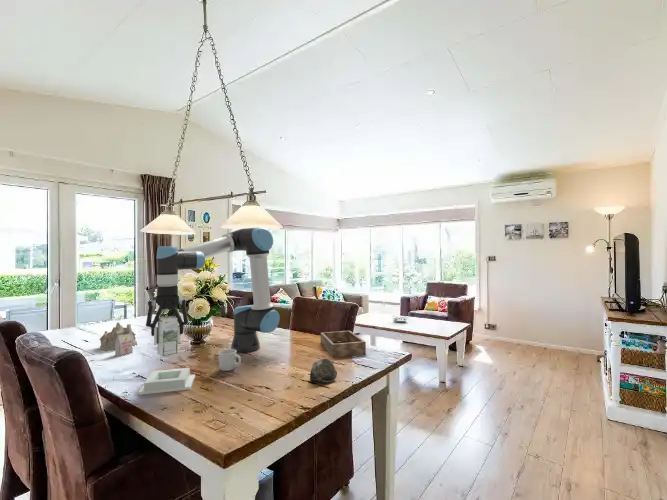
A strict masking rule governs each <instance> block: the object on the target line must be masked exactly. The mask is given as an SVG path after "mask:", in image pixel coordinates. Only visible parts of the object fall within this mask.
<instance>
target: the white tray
mask: <svg viewBox="0 0 667 500" xmlns="http://www.w3.org/2000/svg"><path fill="white" fill-rule="evenodd" d="M195 378H196V374H191V367H184V368H183V367H182V368H173V369H170V368H169V369H161V370H153V371H152V372H151V374H149V376H148V377H147V379H146V380H145V381H144V383H143V385H142V386H141V387H140V389H139V390H138V392H137V396H140V395H142V396H143V395H150V394H160V393H168V392H179V391H188V390H192V386H193V385H194V381H195Z"/></svg>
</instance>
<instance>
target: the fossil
mask: <svg viewBox="0 0 667 500" xmlns="http://www.w3.org/2000/svg"><path fill="white" fill-rule="evenodd" d="M334 365H335V364H334V363H333V362H331V360H330V359H328V358H320V359H318V360H315V361H314V362H313V363H312V367H311V371H310V373H309V381H315V380H316V381H317V382H319V383H321V384H325V385H326V384H330V383H332V382H334V381H335V380H336V378H337V376H338V371H337V370H336V367H335V366H334Z"/></svg>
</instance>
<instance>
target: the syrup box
mask: <svg viewBox="0 0 667 500" xmlns="http://www.w3.org/2000/svg"><path fill="white" fill-rule="evenodd" d="M177 319H178V318H176V317H175V315H167V316H160V317H159V319H158V322H157V327H158V344H157V354H158V355H160V356H161V357H166V356H167V357H168V356H171V355H172V356H173V355H176V354H178V344H179V343H177V327H178V326H179V323H178V321H177Z"/></svg>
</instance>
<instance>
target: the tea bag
mask: <svg viewBox="0 0 667 500" xmlns="http://www.w3.org/2000/svg"><path fill="white" fill-rule="evenodd" d="M130 353H131V354H133V353H134V351H133V347H132V338H131V334H126V335H121V336H117V339H116V343H115V350H114V355H115V356H116V357H123V356H127V355H130ZM126 354H127V355H126ZM122 355H123V356H122Z"/></svg>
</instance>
